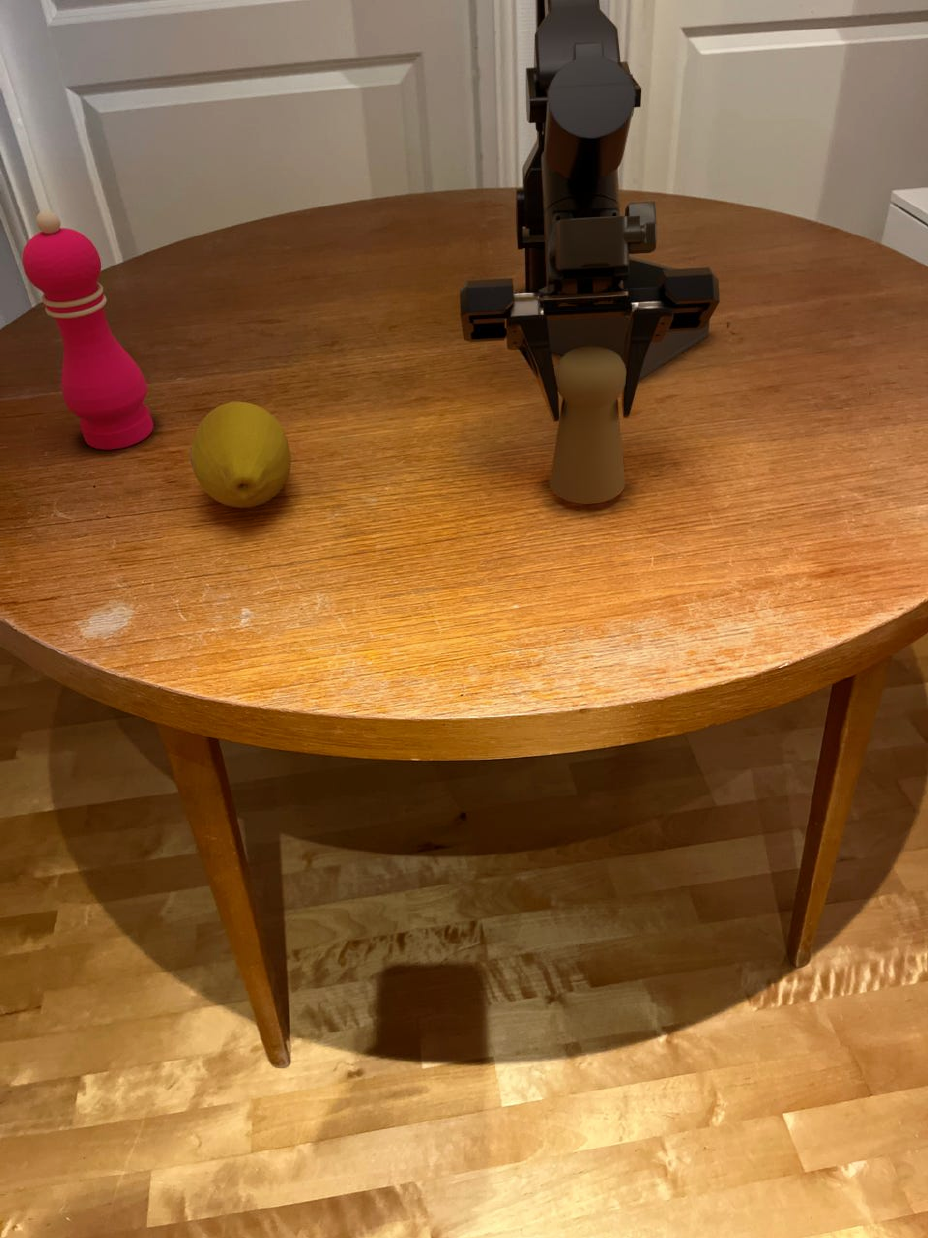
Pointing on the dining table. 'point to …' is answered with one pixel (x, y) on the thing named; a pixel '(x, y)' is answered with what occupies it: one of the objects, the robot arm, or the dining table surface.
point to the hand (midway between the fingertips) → (591, 418)
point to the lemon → (240, 455)
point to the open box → (622, 326)
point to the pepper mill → (87, 338)
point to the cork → (589, 426)
